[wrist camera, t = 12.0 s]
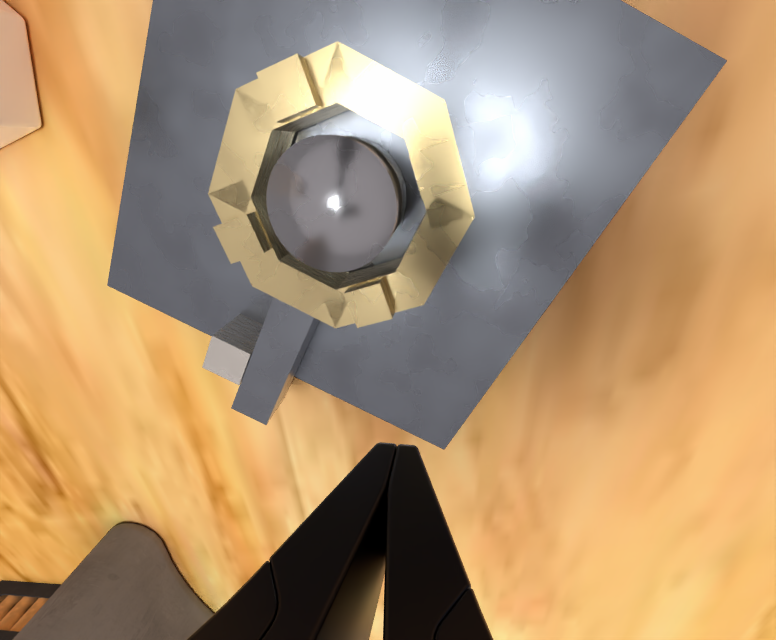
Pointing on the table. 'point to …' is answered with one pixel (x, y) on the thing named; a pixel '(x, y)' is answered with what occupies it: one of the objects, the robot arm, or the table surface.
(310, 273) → the ring nut
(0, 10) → the jar
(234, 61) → the cap plate
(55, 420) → the table surface
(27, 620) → the ammunition clip
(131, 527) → the flask
